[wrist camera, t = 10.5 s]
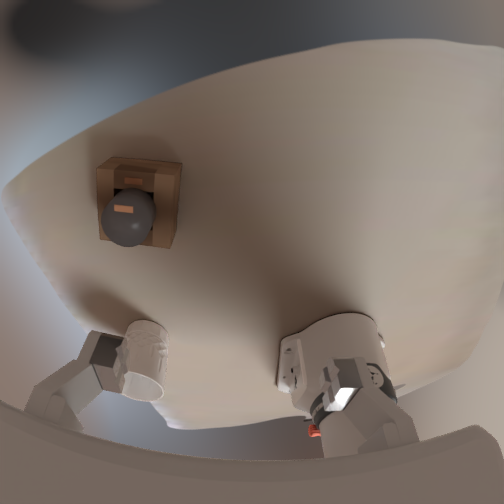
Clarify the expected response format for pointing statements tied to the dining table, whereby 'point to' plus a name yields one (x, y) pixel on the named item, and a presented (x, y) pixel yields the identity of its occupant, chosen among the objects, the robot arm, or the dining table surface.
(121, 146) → the dining table surface
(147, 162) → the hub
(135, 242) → the knob
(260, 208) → the dining table surface
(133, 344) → the white cup
